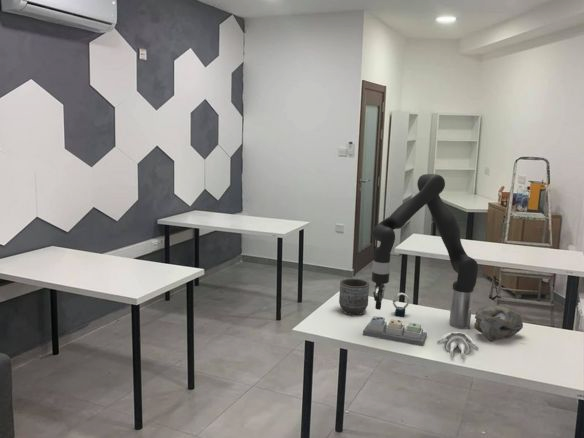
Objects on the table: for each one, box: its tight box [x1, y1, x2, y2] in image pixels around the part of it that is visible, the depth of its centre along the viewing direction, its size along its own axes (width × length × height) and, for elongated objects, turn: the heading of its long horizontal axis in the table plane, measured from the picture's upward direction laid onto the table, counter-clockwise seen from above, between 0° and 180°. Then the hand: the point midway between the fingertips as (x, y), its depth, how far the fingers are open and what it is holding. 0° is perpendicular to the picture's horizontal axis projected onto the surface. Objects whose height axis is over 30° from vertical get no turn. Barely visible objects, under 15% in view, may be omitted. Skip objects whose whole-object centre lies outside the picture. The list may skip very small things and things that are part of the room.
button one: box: [406, 322, 422, 333], centre depth 223 cm, size 5×5×4 cm
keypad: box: [362, 320, 428, 347], centre depth 226 cm, size 26×11×4 cm, turn 68°
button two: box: [388, 318, 403, 330], centre depth 226 cm, size 5×5×4 cm
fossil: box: [473, 304, 524, 342], centre depth 229 cm, size 14×22×15 cm, turn 123°
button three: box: [370, 315, 386, 326], centre depth 229 cm, size 5×5×4 cm
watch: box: [392, 292, 410, 318], centre depth 252 cm, size 6×8×11 cm
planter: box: [338, 277, 370, 316], centre depth 254 cm, size 14×14×15 cm
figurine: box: [436, 331, 480, 360], centre depth 216 cm, size 17×9×25 cm
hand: (378, 308), depth 228 cm, fingers closed
